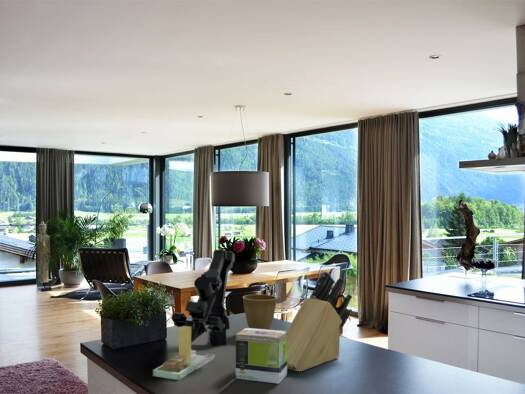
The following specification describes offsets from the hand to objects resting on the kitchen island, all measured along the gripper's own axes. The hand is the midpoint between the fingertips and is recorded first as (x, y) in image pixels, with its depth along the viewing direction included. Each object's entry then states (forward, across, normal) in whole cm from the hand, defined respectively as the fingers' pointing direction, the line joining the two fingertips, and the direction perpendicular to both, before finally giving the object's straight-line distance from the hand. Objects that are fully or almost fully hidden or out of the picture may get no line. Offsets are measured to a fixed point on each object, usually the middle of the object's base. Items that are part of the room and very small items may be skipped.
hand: (189, 343), depth 173 cm
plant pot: (-30, +6, +43) cm, 53 cm away
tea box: (+5, +26, +7) cm, 28 cm away
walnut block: (+13, 0, -3) cm, 13 cm away
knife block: (-12, +38, +24) cm, 46 cm away
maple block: (+10, 0, 0) cm, 10 cm away
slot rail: (+4, 0, +8) cm, 9 cm away
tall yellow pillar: (+7, 0, +3) cm, 8 cm away
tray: (+13, 0, -1) cm, 13 cm away
